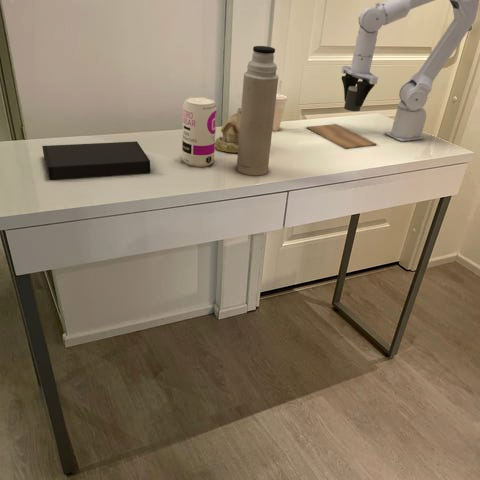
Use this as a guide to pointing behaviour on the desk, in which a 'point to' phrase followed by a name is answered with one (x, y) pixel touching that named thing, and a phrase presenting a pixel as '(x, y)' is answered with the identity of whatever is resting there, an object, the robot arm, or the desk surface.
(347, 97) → the thermos cap
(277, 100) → the smoothie
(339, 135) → the brown wooden board
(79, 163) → the external hard drive
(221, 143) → the ceramic model
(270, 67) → the thermos bottle
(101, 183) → the desk surface
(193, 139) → the supplement can
